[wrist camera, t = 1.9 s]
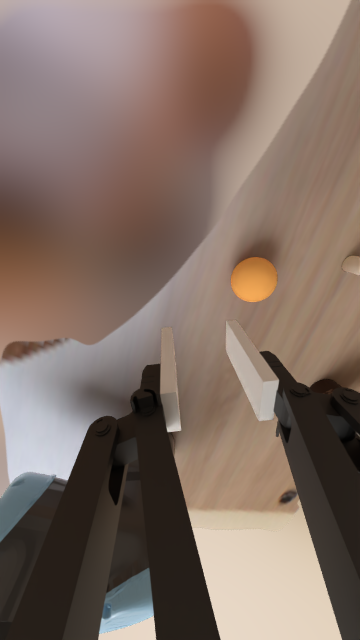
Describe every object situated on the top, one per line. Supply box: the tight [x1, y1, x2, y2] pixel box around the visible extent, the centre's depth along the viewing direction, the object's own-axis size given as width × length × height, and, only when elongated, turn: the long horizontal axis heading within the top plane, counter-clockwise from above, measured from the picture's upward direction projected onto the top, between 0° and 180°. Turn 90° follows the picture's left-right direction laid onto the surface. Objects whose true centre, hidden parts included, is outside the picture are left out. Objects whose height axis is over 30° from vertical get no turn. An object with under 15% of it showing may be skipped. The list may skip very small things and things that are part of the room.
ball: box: [231, 257, 277, 302], centre depth 29 cm, size 6×6×6 cm
